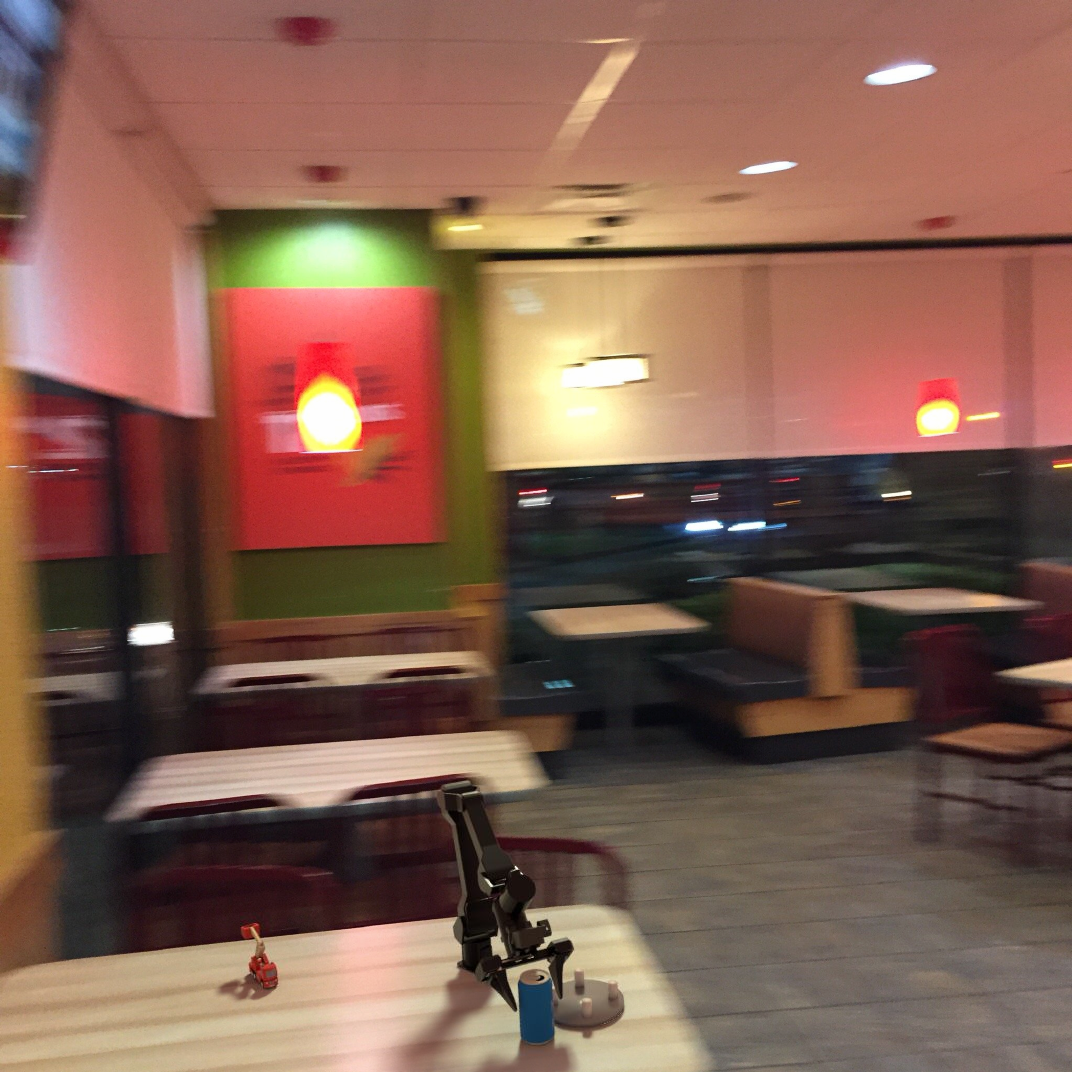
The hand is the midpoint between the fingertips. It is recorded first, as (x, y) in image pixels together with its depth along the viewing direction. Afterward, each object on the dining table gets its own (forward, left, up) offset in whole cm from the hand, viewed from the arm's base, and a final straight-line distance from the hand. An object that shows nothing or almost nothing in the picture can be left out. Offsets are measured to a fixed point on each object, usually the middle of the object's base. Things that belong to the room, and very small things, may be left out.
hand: (538, 1004), depth 194 cm
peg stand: (-2, +15, -7) cm, 16 cm away
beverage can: (-1, +1, -7) cm, 7 cm away
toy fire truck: (-64, -20, -7) cm, 68 cm away
